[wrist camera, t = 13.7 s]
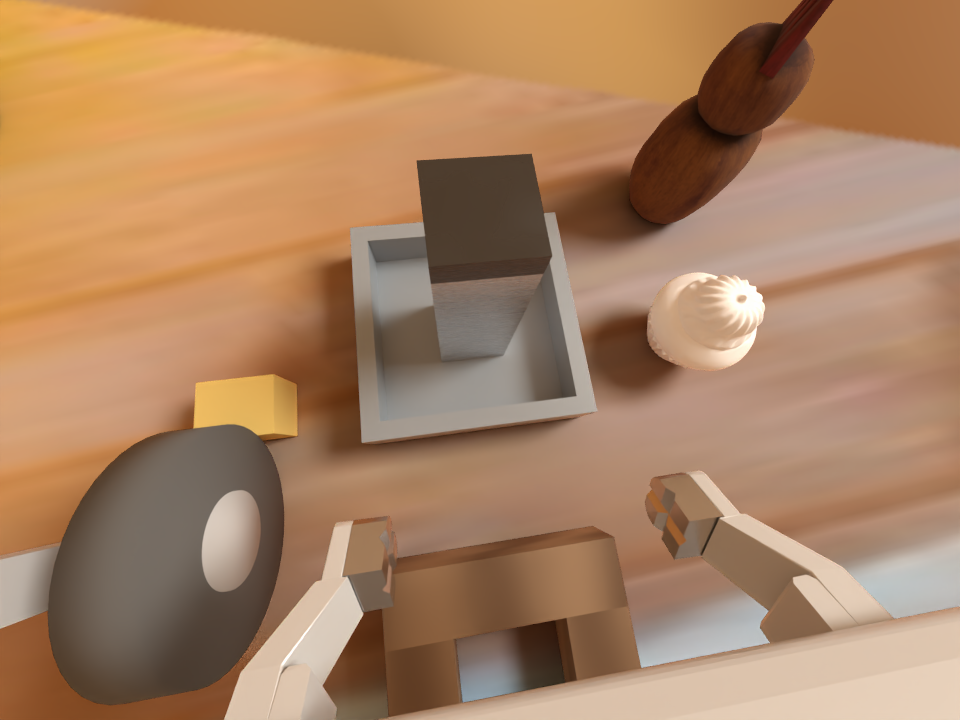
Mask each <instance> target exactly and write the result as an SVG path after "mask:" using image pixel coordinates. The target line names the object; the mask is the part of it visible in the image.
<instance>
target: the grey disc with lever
mask: <svg viewBox="0 0 960 720" xmlns="http://www.w3.org/2000/svg"><path fill="white" fill-rule="evenodd" d="M294 436H298V430H297V384H295V383H293V382H290V381H288V380H286V379H284V378H281V377H279V376H277V375H275V374H271V375H262V376H253V377H244V378H235V379H226V380H217V381H208V382H199V383H196V391H195V409H194V427H193V429H185V430H177V431H170V432H164V433H159V434H156V435H153V436H150V437H147V438H145V439H144V440H142V441H140V442H138V443H136V444H134V445H133V446H131V447H130V448H129V449H127V450H126V451H124V452H123V453H121V454H120V455H119V456H118V457H117V458H116V459H115V460H114V461H113V462H112V463H110V464H109V465H108V466H107V467H106V469H105V470H104V471H103V472H102V473H101V474H100V475H99V477H98V478H97V479H96V480H95V481H94V483H93V484H92V486H91V487H90V488H89V490H88V491H87V493H86V494H85V496H84V497H83V498H82V500H81V502H80V504H79V506H78V507H77V509H76V511H75V513H74V515H73V516H72V518H71V520H70V523H69V525H68V527H67V530H66V532H65V534H64V537H63V539H62V541H61V542H59V543H54V544H50V545H45V546H41V547H36V548H32V549H27V550H23V551H18V552H14V553H9V554H5V555H0V629H1V628H4V627H6V626H9V625H11V624H14V623H17V622H19V621H22V620H24V619H27V618H30V617H32V616H35V615H38V614H40V613H43V612H45V611H48V627H49V638H50V642H51V647H52V652H53V656H54V658H55V661H56V663H57V666H58V668H59V670H60V673H61V674H62V676H63V677H64V679H65V680H66V681H67V683H68V684H69V686H70V687H71V688H72V689H73V690H75V691H76V692H77V693H78V694H79V695H81V696H82V697H83V698H86V699H88V700H90V701H92V702H95V703H99V704H105V705H117V704H126V703H131V702H136V701H142V700H147V699H152V698H157V697H163V696H168V695H173V694H178V693H184V692H189V691H194V690H198V689H201V688H204V687H207V686H209V685H211V684H213V683H214V682H216V681H218V680H219V679H220V678H222V677H223V676H224V675H225V674H226V673H228V672H229V671H230V670H231V669H232V667H233V666H234V665H235V664H236V663H237V662H238V661H239V659H240V658H241V657H242V655H243V654H244V653H245V651H246V650H247V648H248V647H249V645H250V644H251V642H252V640H253V639H254V637H255V635H256V633H257V631H258V629H259V627H260V625H261V623H262V621H263V618H264V616H265V614H266V611H267V609H268V606H269V603H270V600H271V597H272V594H273V591H274V587H275V584H276V580H277V576H278V571H279V566H280V561H281V554H282V547H283V535H284V505H283V495H282V488H281V483H280V478H279V474H278V471H277V468H276V465H275V462H274V460H273V457H272V455H271V453H270V451H269V450H268V448H267V446H266V445H265V444H264V442H263V440H271V439H279V438H286V437H294Z"/></svg>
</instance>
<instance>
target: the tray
mask: <svg viewBox="0 0 960 720" xmlns="http://www.w3.org/2000/svg"><path fill="white" fill-rule="evenodd" d="M544 217H545V222H546V227H547V232H548V237H549V241H550V246H551V251H552V258H551V260H550V262H549V264H548V266H547V268H546V270H545V272H544V274H543V276H542V278H541V280H540V282H539V284H538V286H537V288H536V290H535V292H534V294H533V297H532V299H531V301H530V303H529V305H528V307H527V309H526V311H525V313H524V315H523V317H522V319H521V321H520V323H519V325H518V327H517V329H516V331H515V333H514V335H513V337H512V339H511V341H510V343H509V345H508V347H507V349H506V351H505V353H504V356H495V357H486V358H478V359H469V360H460V361H451V362H442V361H441V354H440V346H439V339H438V332H437V325H436V318H435V311H434V304H433V297H432V289H431V282H430V275H429V268H428V259H427V250H426V241H425V232H424V223H423V222H421V223H407V224H394V225H381V226H368V227H354V228H350V236H351V254H352V272H353V291H354V309H355V327H356V346H357V364H358V383H359V401H360V419H361V438H362V443H367V444H381V443H389V442H396V441H404V440H411V439H419V438H426V437H433V436H441V435H448V434H456V433H463V432H471V431H478V430H486V429H493V428H501V427H508V426H516V425H523V424H531V423H538V422H546V421H553V420H561V419H568V418H575V417H581V416H584V415H587V414H591V413H594V412H597V407H596V403H595V398H594V393H593V389H592V384H591V379H590V374H589V370H588V365H587V360H586V356H585V351H584V346H583V342H582V337H581V332H580V328H579V323H578V318H577V314H576V309H575V304H574V299H573V295H572V290H571V285H570V281H569V276H568V271H567V267H566V262H565V257H564V253H563V248H562V243H561V239H560V234H559V229H558V224H557V220H556V215H555V212H553V213H544Z"/></svg>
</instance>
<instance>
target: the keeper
mask: <svg viewBox="0 0 960 720" xmlns="http://www.w3.org/2000/svg"><path fill="white" fill-rule="evenodd" d="M393 574H394V578H395V581H396V584H395V598H394V606H393V607H388V608H383V609H382V616H383V632H384V649H385V665H386V681H387V698H388V714H389V717H392V716H397V715H402V714H407V713H413V712H418V711H423V710H428V709H433V708H438V707H444V706H449V705H454V704H459V703H462V694H461V684H460V674H459V664H458V655H457V645H456V639H458V638H463V637H468V636H473V635H479V634H484V633H489V632H495V631H500V630H505V629H510V628H516V627H521V626H526V625H531V624H537V623H542V622H547V621H552V620H555V624H556V630H557V636H558V642H559V648H560V654H561V661H562V667H563V673H564V679H565V683H567V682H572V681H578V680H583V679H588V678H593V677H598V676H603V675H609V674H614V673H619V672H624V671H629V670H634V669H640V668H641V665H640V660H639V656H638V651H637V646H636V641H635V636H634V631H633V627H632V622H631V617H630V612H629V607H628V602H627V598H626V593H625V588H624V583H623V578H622V573H621V569H620V564H619V559H618V554H617V549H616V544H615V540H614V537H613V536H611V535H609V534H607V533H605V532H603V531H601V530H599V529H597V528H596V527H594V526H590V527H584V528H578V529H572V530H566V531H560V532H554V533H548V534H542V535H536V536H530V537H524V538H518V539H512V540H506V541H500V542H494V543H488V544H482V545H475V546H469V547H463V548H457V549H451V550H445V551H439V552H433V553H427V554H421V555H415V556H409V557H403V558H397V566H396V568H395V569H394V570H393Z"/></svg>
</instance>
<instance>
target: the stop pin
mask: <svg viewBox="0 0 960 720" xmlns="http://www.w3.org/2000/svg"><path fill="white" fill-rule="evenodd" d="M417 169H418V178H419V187H420V196H421V205H422V214H423V223H424V232H425V241H426V250H427V259H428V268H429V275H430V282H431V289H432V297H433V304H434V311H435V318H436V325H437V332H438V339H439V346H440V354H441V361H442V362H451V361H460V360H469V359H478V358H486V357H495V356H504V353H505V351H506V349H507V347H508V345H509V343H510V341H511V339H512V337H513V335H514V333H515V331H516V329H517V327H518V325H519V323H520V321H521V319H522V317H523V315H524V313H525V311H526V309H527V307H528V305H529V303H530V301H531V299H532V297H533V294H534V292H535V290H536V288H537V286H538V284H539V282H540V280H541V278H542V276H543V274H544V272H545V270H546V268H547V266H548V264H549V262H550V260H551V258H552V251H551V246H550V241H549V237H548V232H547V227H546V222H545V217H544V212H543V207H542V202H541V197H540V192H539V187H538V183H537V178H536V173H535V168H534V163H533V158H532V154H522V155H505V156H488V157H470V158H453V159H436V160H419V161H417Z"/></svg>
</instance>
